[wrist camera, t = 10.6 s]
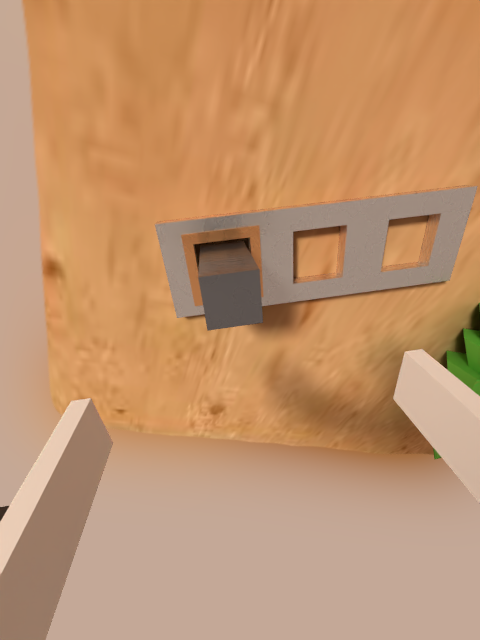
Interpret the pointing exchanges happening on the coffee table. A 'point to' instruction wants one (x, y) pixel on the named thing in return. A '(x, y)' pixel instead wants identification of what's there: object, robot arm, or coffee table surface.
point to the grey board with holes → (353, 251)
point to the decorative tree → (466, 364)
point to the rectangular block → (229, 285)
